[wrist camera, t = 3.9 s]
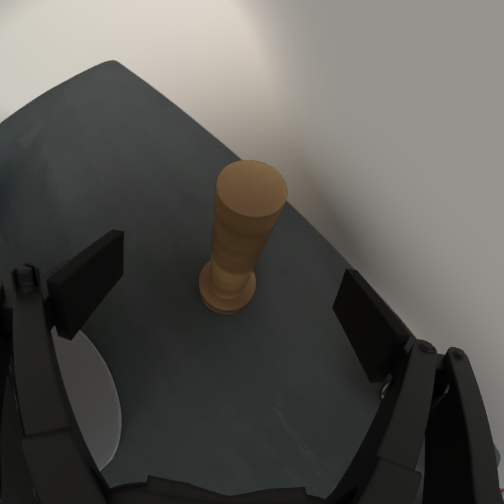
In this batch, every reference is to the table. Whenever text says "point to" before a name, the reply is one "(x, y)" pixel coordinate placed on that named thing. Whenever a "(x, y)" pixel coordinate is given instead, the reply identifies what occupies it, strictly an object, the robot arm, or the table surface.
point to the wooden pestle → (240, 232)
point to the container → (83, 405)
